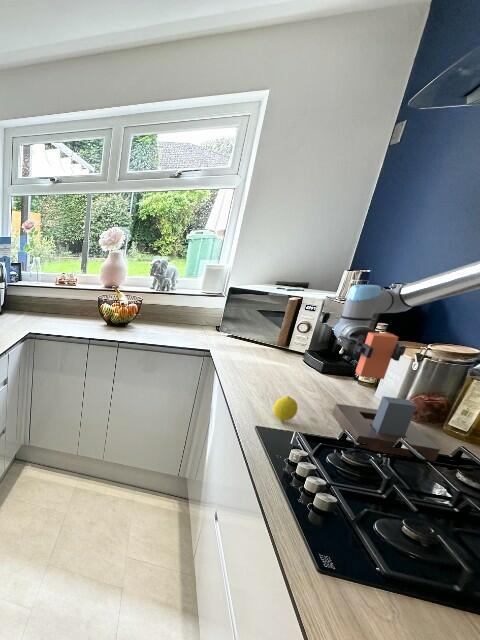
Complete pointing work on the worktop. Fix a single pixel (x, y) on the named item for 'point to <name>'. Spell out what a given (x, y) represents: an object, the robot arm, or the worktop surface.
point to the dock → (362, 431)
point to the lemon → (285, 408)
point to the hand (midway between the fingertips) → (384, 354)
